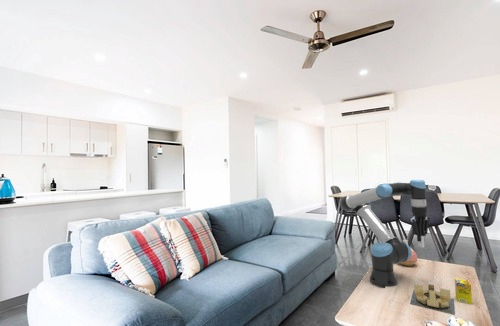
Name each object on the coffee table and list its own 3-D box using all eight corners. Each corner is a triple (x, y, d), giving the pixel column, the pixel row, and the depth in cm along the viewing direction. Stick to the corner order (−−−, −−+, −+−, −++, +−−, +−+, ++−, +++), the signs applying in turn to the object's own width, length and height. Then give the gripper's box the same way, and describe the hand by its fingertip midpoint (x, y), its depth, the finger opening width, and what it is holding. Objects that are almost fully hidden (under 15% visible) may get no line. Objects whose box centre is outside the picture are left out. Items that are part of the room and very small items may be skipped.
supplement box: (472, 306, 128) (471, 284, 128) (457, 303, 131) (456, 282, 132) (470, 301, 133) (469, 280, 133) (455, 298, 136) (454, 278, 137)
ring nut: (414, 290, 143) (414, 278, 143) (448, 297, 134) (448, 284, 135) (414, 303, 130) (414, 290, 130) (452, 311, 122) (451, 297, 122)
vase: (400, 267, 180) (398, 242, 180) (392, 261, 193) (391, 237, 194) (421, 268, 177) (420, 242, 178) (412, 261, 191) (411, 237, 191)
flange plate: (410, 306, 130) (409, 298, 131) (413, 292, 145) (413, 285, 145) (455, 317, 120) (454, 309, 120) (454, 301, 134) (453, 293, 134)
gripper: (416, 207, 144) (418, 250, 143) (433, 206, 148) (436, 247, 147) (404, 206, 151) (406, 246, 151) (421, 204, 155) (423, 243, 154)
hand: (421, 246), depth 149 cm, fingers closed
